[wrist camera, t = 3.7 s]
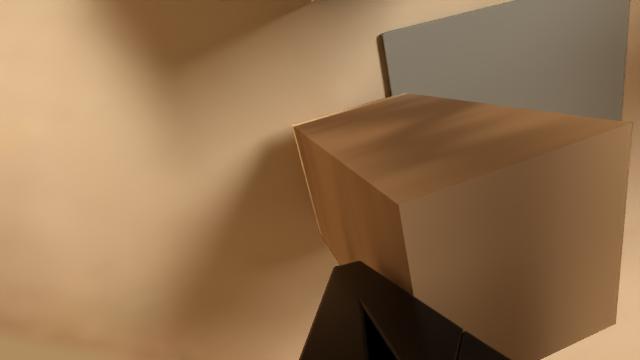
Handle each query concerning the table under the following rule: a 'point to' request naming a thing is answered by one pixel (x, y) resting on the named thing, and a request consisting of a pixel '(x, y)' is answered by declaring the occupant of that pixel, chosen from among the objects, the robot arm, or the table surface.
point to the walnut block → (478, 211)
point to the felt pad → (519, 56)
